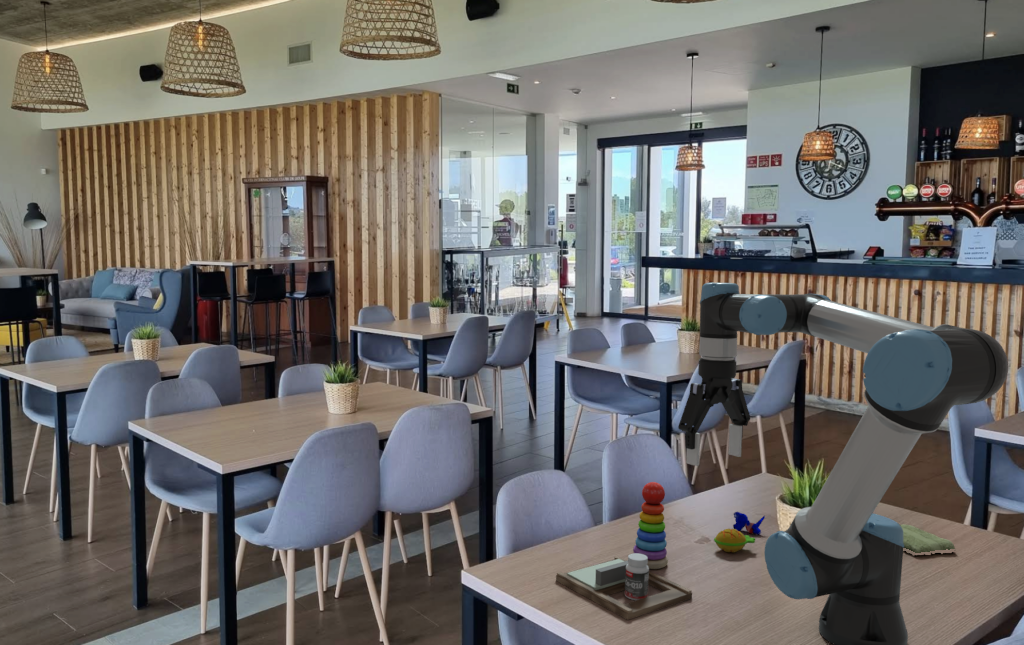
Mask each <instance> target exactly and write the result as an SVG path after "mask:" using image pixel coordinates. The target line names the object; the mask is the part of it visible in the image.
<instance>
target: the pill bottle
mask: <svg viewBox="0 0 1024 645" xmlns="http://www.w3.org/2000/svg"><path fill="white" fill-rule="evenodd" d="M627 561H628V564H627V565H626V572H625V590H624V596H625V597H626V598H627V599H629V600H631V601H636V600H639V599H643V598H646V597H649V584H648V579H649V571H650V569H649V567H648V566H647V564H648V557H647V556H646V555H644V554H639V553H634V552H633V553H630V554H628V556H627Z"/></svg>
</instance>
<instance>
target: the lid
mask: <svg viewBox="0 0 1024 645" xmlns="http://www.w3.org/2000/svg"><path fill="white" fill-rule="evenodd" d="M612 560H613V561H610V560H608V561H609V562H607V561H604V562H605V563H603V562H601V563H602V564H599V563H597V564H598V565H596V564H593V565H594V566H592V565H590V566H591V567H588V566H586V567H587V568H585V567H583V568H584V569H581V568H579V569H580V570H577V569H575V570H576V571H574V570H572V571H573V572H570V571H568V572H569V573H567V576H569V577H571V578H573V579H575V580H577V581H579V582H581V583H583V584H584V585H586V586H588V587H590V588H592V589H594V590H599V589H602V588H605V587H609V586H612V585H616V584H619V583H622V582H625V572H626V565H627V564H628V560H627V561H623V560H621V559H616V560H614V559H612Z"/></svg>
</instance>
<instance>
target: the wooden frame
mask: <svg viewBox="0 0 1024 645" xmlns="http://www.w3.org/2000/svg"><path fill="white" fill-rule="evenodd" d="M616 559H621V560H623V561H628V559H625V558H622V557H620V556H618V555H617V556H614V559H611V560H607V561H604V562H601V563H595V564H593V565H589V566H585V567H582V568H579V569H574V570H570V571H568V572H562V571H559V572H556V575H555V582H558V583H559V584H561V585H563V586H565V587H566V588H569V589H570V590H572V591H574V592H575V593H577V594H579V595H581V596H583V597H585V598H587V599H588V600H590V601H592V602H594V603H596V604H598V605H599V606H601V607H603V608H605V609H607V610H608V611H610V612H613V613H614V614H616V615H618V616H620V617H621V618H623V619H625V620H627V621H629V620H631V619H635V618H637V617H640V616H643V615H646V614H649V613H652V612H655V611H658V610H662V609H664V608H667V607H670V606H674V605H676V604H680V603H682V602H685V601H688V600H691V599H693V592H692V590H691V589H689V588H687V587H686V586H682V585H681V584H678V583H677V582H674V581H672V580H670V579H667V578H666V577H663V576H661V575H659V574H657V573H654V572H652V570H651V571H650V570H649V579H648V586H651V587H653V588H655V589H657V590H659V591H661V592H659V593H656V594H651V595H648V597H646V598H643V599H639V600H632V601H630V602H628V603H623V602H622V601H620V600H618V599H616V598H614V597H612V596H610V595H613V594H617V593H619V592H622V591H625V582H622V583H619V584H616V585H612V586H609V587H605V588H602V589H599V590H594V589H592V588H590V587H588V586H586V585H584V584H583V583H581V582H579V581H577V580H575V579H573V578H571V577H569V576H567V573H569V572H573V571H576V570H580V569H584V568H587V567H591V566H594V565H598V564H602V563H605V562H609V561H613V560H616Z"/></svg>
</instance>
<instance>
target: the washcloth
mask: <svg viewBox="0 0 1024 645" xmlns="http://www.w3.org/2000/svg"><path fill="white" fill-rule="evenodd" d="M899 525H900V526H901V527H902V529H903V544H904V547H903V548H906V549H909V550H911V551H913V552H915V553H921V552H930V551H935V550H946V549H948V550H950V549H955V550H956V548H955V547H956V546H955V545H954V543H953V541H951V540H950V539H946V538H942V537H940V536H937V535H936V534H933V533H930V532H929V531H925V530H924V529H921V528H918V527H916V526H914V525H911V524H899Z"/></svg>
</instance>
